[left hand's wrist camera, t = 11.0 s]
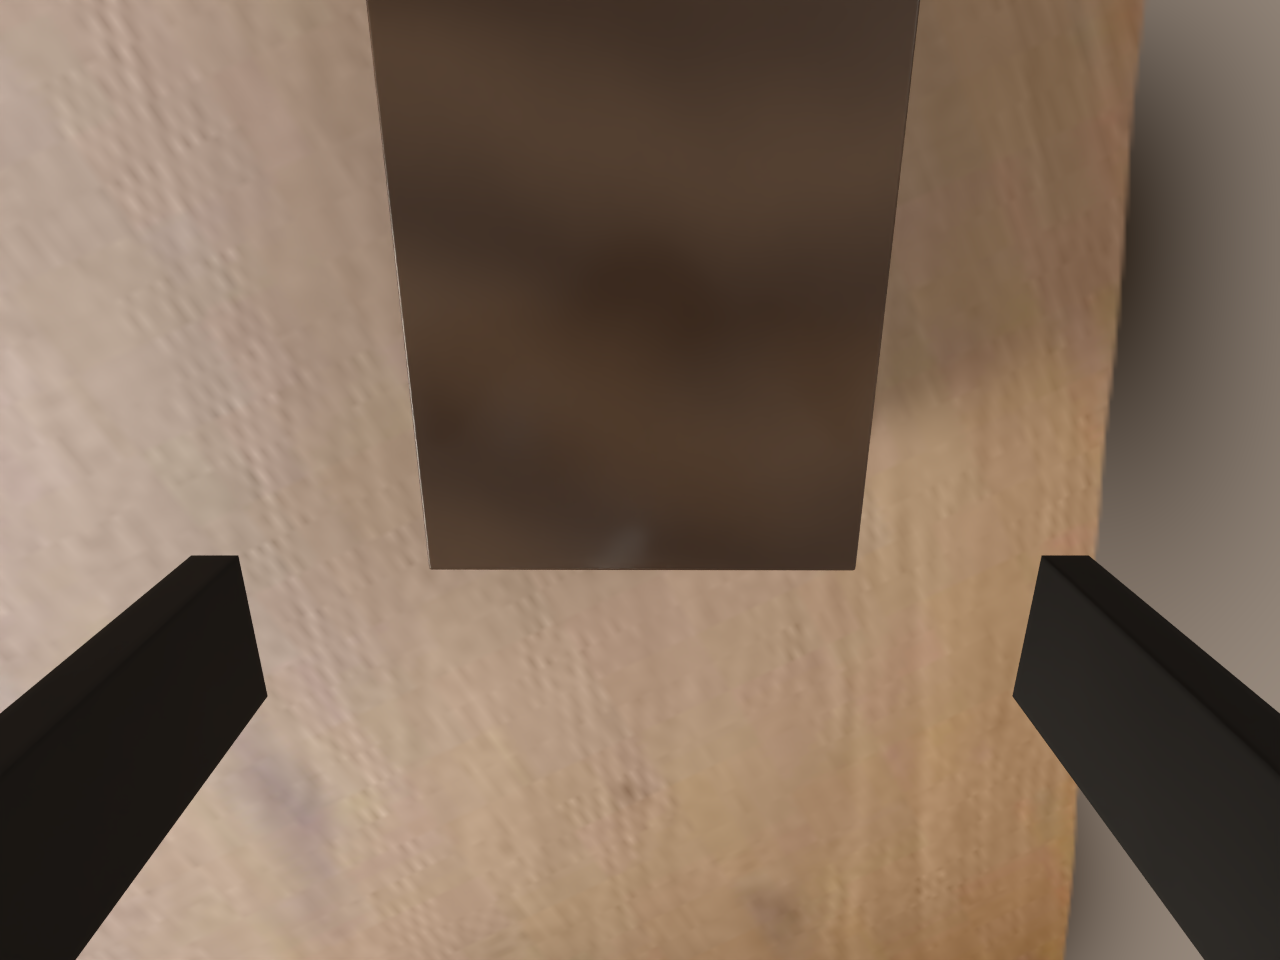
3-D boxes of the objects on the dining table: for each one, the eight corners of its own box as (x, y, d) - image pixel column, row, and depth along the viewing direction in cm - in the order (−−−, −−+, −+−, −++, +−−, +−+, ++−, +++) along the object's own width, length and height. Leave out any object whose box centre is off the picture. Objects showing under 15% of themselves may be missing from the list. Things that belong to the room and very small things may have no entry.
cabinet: (461, -43, 23) (344, -186, 14) (825, -44, 23) (942, -187, 14) (496, 448, 29) (428, 570, 20) (789, 448, 29) (855, 571, 20)
